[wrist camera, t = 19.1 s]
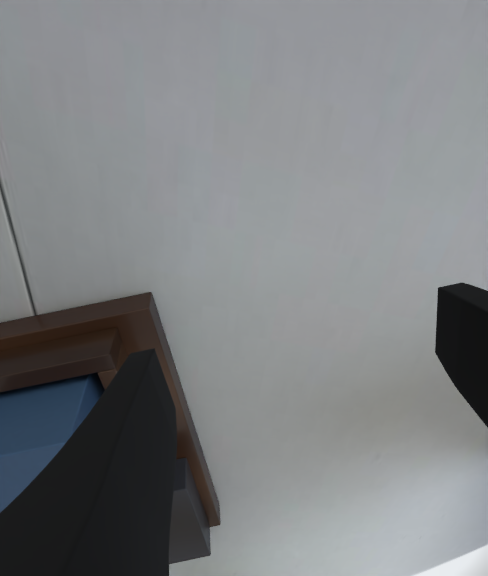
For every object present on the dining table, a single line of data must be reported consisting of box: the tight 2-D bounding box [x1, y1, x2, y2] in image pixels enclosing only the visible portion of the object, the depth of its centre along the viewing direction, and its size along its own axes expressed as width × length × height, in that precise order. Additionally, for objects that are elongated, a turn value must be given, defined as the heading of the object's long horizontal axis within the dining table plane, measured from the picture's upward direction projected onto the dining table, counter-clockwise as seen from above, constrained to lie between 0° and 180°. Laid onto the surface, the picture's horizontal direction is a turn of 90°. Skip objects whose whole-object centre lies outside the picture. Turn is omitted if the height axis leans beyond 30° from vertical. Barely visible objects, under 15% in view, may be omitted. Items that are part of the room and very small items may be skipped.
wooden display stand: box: [0, 292, 220, 564], centre depth 23 cm, size 16×10×4 cm, turn 10°
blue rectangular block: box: [0, 372, 105, 513], centre depth 19 cm, size 6×4×5 cm, turn 10°
